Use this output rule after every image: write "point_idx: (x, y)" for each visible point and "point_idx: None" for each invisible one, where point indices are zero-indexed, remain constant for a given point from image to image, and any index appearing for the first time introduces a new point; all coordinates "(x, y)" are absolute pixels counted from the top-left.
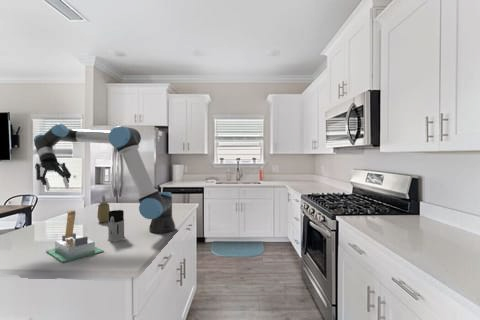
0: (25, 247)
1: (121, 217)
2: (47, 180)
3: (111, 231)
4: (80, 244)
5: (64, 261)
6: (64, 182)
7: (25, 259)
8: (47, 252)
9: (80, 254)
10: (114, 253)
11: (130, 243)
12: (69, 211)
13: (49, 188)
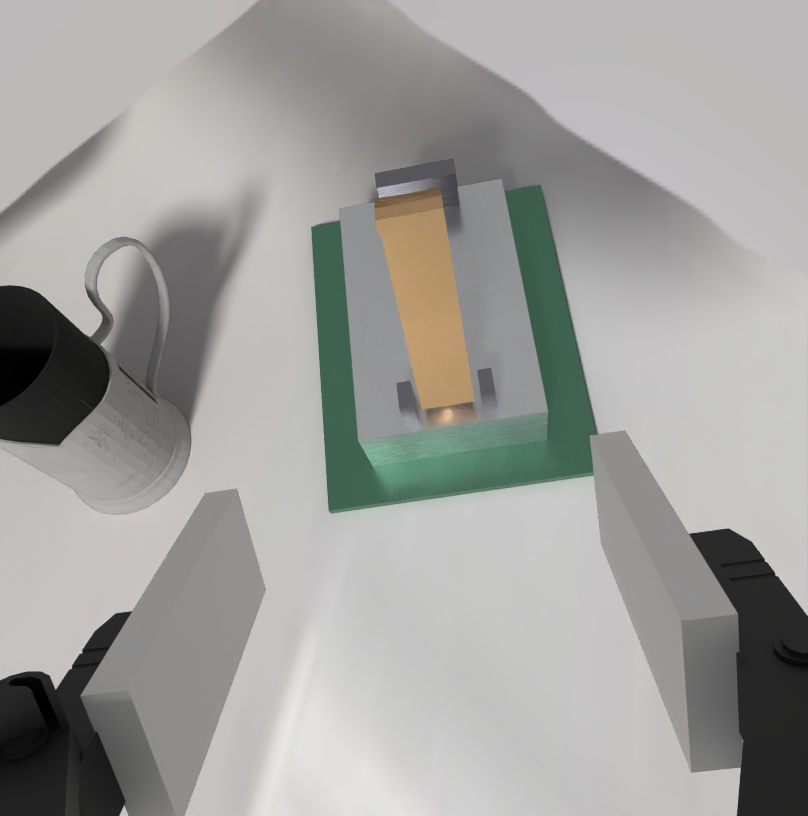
0: None
1: (11, 323)
2: (651, 543)
3: (169, 316)
4: None
5: (531, 187)
6: (210, 684)
7: (732, 390)
8: None
9: None
10: (282, 178)
11: (129, 290)
12: (423, 206)
13: (594, 479)
